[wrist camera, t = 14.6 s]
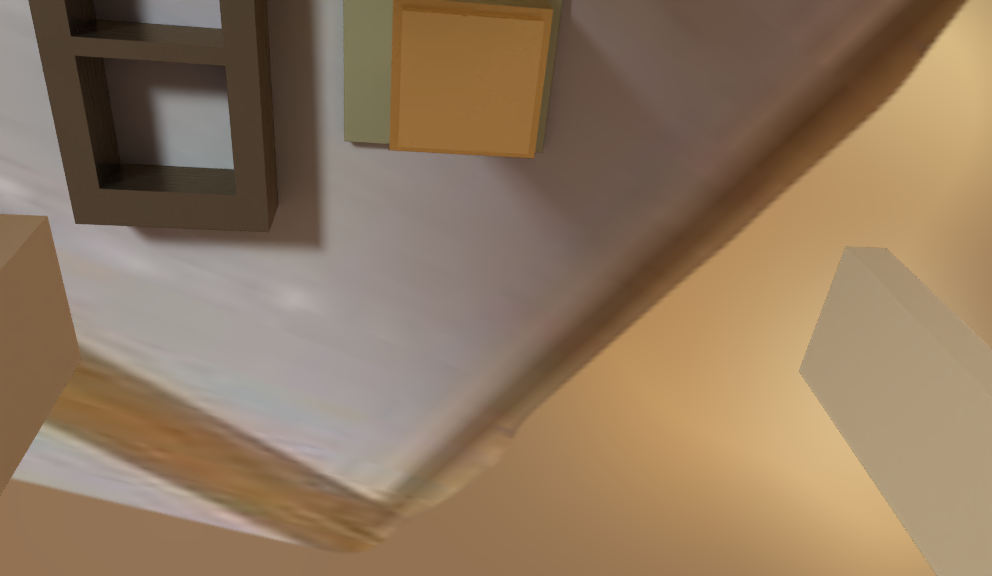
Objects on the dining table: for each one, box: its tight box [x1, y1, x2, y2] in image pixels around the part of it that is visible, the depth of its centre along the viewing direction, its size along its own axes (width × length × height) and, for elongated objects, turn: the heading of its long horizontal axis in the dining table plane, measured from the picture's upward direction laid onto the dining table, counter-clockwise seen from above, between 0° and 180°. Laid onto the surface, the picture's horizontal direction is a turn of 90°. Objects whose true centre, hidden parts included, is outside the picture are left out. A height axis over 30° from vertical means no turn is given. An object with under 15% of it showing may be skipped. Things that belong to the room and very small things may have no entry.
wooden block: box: [389, 0, 553, 158], centre depth 30 cm, size 5×5×12 cm
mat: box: [343, 0, 563, 153], centre depth 36 cm, size 14×10×1 cm
